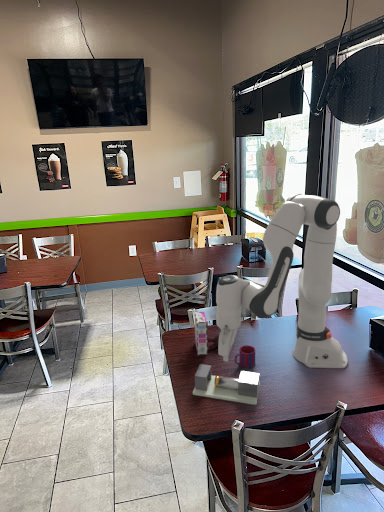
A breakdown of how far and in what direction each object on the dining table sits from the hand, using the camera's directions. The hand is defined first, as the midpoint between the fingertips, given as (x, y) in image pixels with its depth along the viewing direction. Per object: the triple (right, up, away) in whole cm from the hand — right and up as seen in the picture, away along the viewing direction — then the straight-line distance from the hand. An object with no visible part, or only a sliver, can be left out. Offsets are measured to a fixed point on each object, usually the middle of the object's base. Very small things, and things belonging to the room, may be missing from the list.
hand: (228, 353), depth 133 cm
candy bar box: (-9, -7, +34) cm, 36 cm away
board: (0, -15, +5) cm, 16 cm away
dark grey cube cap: (+8, -15, +2) cm, 17 cm away
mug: (+9, -11, +20) cm, 25 cm away
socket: (-9, -14, +7) cm, 18 cm away
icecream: (0, -6, +35) cm, 36 cm away
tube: (+3, -14, +4) cm, 15 cm away
